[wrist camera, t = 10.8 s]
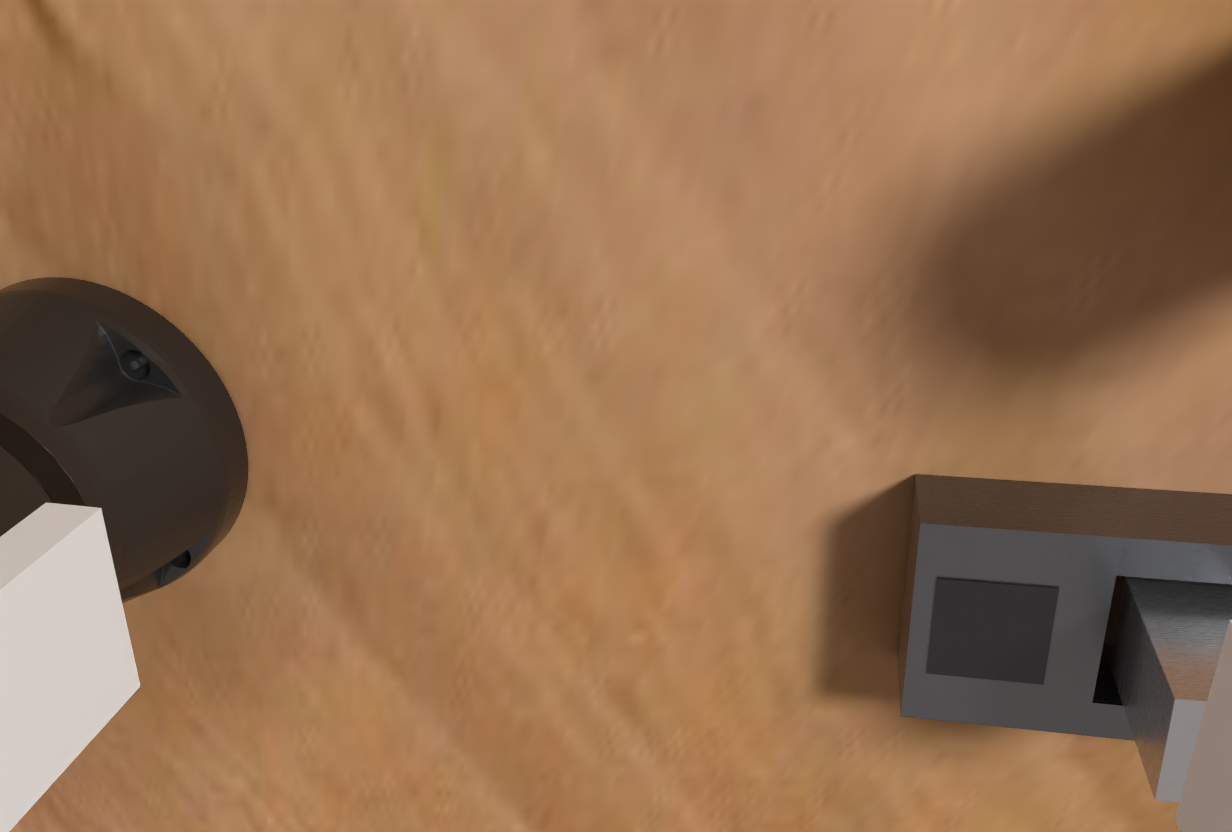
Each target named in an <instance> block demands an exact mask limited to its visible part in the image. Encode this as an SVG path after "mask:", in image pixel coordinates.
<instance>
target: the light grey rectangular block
mask: <svg viewBox="0 0 1232 832" xmlns="http://www.w3.org/2000/svg"><path fill="white" fill-rule="evenodd" d="M1229 620H1232V585H1230V584H1218V583H1205V582H1192V581H1179V580H1166V579H1154V578H1141V577H1128V576H1116V579H1115V585H1114V590H1113V595H1112V601H1111V606H1110V611H1109V617H1108V622H1107V627H1106V633H1105V638H1104V643H1103V648H1104V651H1105V654H1106V657H1107V660H1108V663H1109V665H1110V668H1111V671H1112V674H1113V677H1114V680H1115V683H1116V686H1117V689H1118V692H1119V695H1120V698H1121V701H1122V704H1123V707H1124V710H1125V713H1126V716H1127V719H1128V722H1129V725H1130V728H1131V731H1132V734H1133V736H1134V739H1135V742H1136V745H1137V748H1138V751H1139V754H1140V757H1141V760H1142V763H1143V766H1144V769H1145V772H1146V775H1147V778H1148V781H1149V784H1150V787H1151V790H1152V793H1153V796H1154V799H1155V800H1160V801H1171V802H1179V801H1180V798H1181V794H1182V790H1183V787H1184V783H1185V779H1186V776H1187V772H1188V769H1189V765H1190V761H1191V758H1192V754H1193V750H1194V747H1195V743H1196V740H1197V736H1198V732H1199V729H1200V725H1201V721H1202V718H1203V714H1204V711H1205V707H1206V703H1207V700H1208V696H1209V692H1210V689H1211V685H1212V682H1213V678H1214V674H1215V671H1216V667H1217V664H1218V660H1219V656H1220V653H1221V649H1222V645H1223V642H1224V638H1225V635H1226V631H1227V627H1228V624H1229Z"/></svg>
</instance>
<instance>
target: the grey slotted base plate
mask: <svg viewBox="0 0 1232 832" xmlns="http://www.w3.org/2000/svg"><path fill="white" fill-rule="evenodd" d="M1116 576H1128V577H1141V578H1154V579H1166V580H1179V581H1192V582H1205V583H1218V584H1230V585H1232V495H1230V494H1214V493H1198V492H1183V491H1167V490H1152V489H1136V488H1121V487H1105V486H1090V485H1074V484H1059V483H1043V482H1027V481H1012V480H996V479H981V478H965V477H950V476H934V475H919V474H915V481H914V491H913V502H912V512H911V523H910V533H909V543H908V554H907V564H906V574H905V585H904V595H903V606H902V616H901V626H900V637H899V647H898V674H899V691H900V709H901V716H903V717H913V718H922V719H932V720H942V721H951V722H961V723H971V724H980V725H990V726H1000V727H1009V728H1019V729H1029V730H1038V731H1048V732H1058V733H1067V734H1077V735H1087V736H1096V737H1106V738H1116V739H1125V740H1135V739H1134V736H1133V734H1132V731H1131V728H1130V725H1129V722H1128V719H1127V716H1126V713H1125V710H1124V707H1123V704H1122V701H1121V698H1120V695H1119V692H1118V689H1117V686H1116V683H1115V680H1114V677H1113V674H1112V671H1111V668H1110V665H1109V663H1108V660H1107V657H1106V654H1105V651H1104V648H1103V643H1104V638H1105V633H1106V627H1107V622H1108V617H1109V611H1110V606H1111V601H1112V595H1113V590H1114V585H1115V579H1116Z"/></svg>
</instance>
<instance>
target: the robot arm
mask: <svg viewBox="0 0 1232 832" xmlns="http://www.w3.org/2000/svg"><path fill="white" fill-rule="evenodd" d="M247 480H248V457H247V448H246V442H245V437H244V433H243V429H242V426H241V422H240V419H239V416H238V414H237V411H236V408H235V406H234V404H233V402H232V399H231V397H230V395H229V393H228V391H227V390H226V388H225V386H224V384H223V382H222V381H221V379H220V378H219V376H218V374H217V373H216V371H215V370H214V369H213V367H212V366H211V364H210V363H209V362H208V360H207V359H206V358H205V357H204V355H203V354H202V353H201V352H200V351H199V349H198V348H197V347H196V346H195V345H194V344H193V343H192V342H191V341H190V340H189V339H188V338H187V337H186V336H185V335H184V334H183V333H182V332H181V331H180V330H179V329H178V328H176V327H175V326H174V325H173V324H172V323H170V322H169V321H168V320H167V319H165V318H164V317H163V316H161V315H160V314H158V313H157V312H156V311H154V310H153V309H151V308H150V307H148V306H146V305H145V304H143V303H141V302H140V301H138V300H136V299H134V298H132V297H130V296H128V295H126V294H124V293H121V292H119V291H117V290H114V289H112V288H109V287H106V286H103V285H100V284H96V283H93V282H88V281H84V280H78V279H72V278H37V279H32V280H26V281H23V282H19V283H16V284H13V285H10V286H8V287H5V288H3V289H1V290H0V832H9V831H10V830H11V829H12V828H13V827H14V826H15V825H16V824H17V823H18V821H19V820H20V819H21V818H22V817H23V816H24V815H25V814H26V813H27V811H28V810H29V809H30V808H31V807H32V806H33V805H34V804H35V803H36V801H37V800H38V799H39V798H40V797H41V796H42V795H43V794H44V793H45V791H46V790H47V789H48V788H49V787H50V786H51V785H52V784H53V783H54V782H55V780H56V779H57V778H58V777H59V776H60V775H61V774H62V773H63V772H64V770H65V769H66V768H67V767H68V766H69V765H70V764H71V763H72V762H73V760H74V759H75V758H76V757H77V756H78V755H79V754H80V753H81V752H82V750H83V749H84V748H85V747H86V746H87V745H88V744H89V743H90V742H91V740H92V739H93V738H94V737H95V736H96V735H97V734H98V733H99V732H100V730H101V729H102V728H103V727H104V726H105V725H106V724H107V723H108V722H109V720H110V719H111V718H112V717H113V716H114V715H115V714H116V713H117V712H118V710H119V709H120V708H121V707H122V706H123V705H124V704H125V703H126V702H127V700H128V699H129V698H130V697H131V696H132V695H133V694H134V693H135V692H136V691H137V689H138V688H139V687H140V682H139V677H138V673H137V668H136V664H135V659H134V655H133V650H132V646H131V641H130V636H129V632H128V627H127V623H126V618H125V614H124V609H123V605H122V603H123V602H126V601H128V600H131V599H133V598H136V597H139V596H141V595H144V594H146V593H149V592H151V591H154V590H156V589H159V588H161V587H163V586H166V585H168V584H170V583H172V582H174V581H175V580H177V579H179V578H180V577H182V576H183V575H185V574H186V573H188V572H189V571H190V570H192V569H193V568H194V567H195V566H196V565H198V564H199V563H200V562H201V561H202V560H203V559H204V558H205V557H206V556H207V555H208V554H209V553H210V552H211V551H212V550H213V549H214V548H215V547H216V546H217V545H218V544H219V543H220V542H221V541H222V540H223V539H224V537H225V536H226V535H227V534H228V532H229V531H230V529H231V528H232V526H233V525H234V523H235V521H236V519H237V517H238V515H239V513H240V510H241V508H242V505H243V501H244V498H245V494H246V488H247ZM1175 819H1176V822H1177V825H1178V828H1179V830H1180V832H1232V620H1229V624H1228V627H1227V631H1226V635H1225V638H1224V642H1223V645H1222V649H1221V653H1220V656H1219V660H1218V664H1217V667H1216V671H1215V674H1214V678H1213V682H1212V685H1211V689H1210V692H1209V696H1208V700H1207V703H1206V707H1205V711H1204V714H1203V718H1202V721H1201V725H1200V729H1199V732H1198V736H1197V740H1196V743H1195V747H1194V750H1193V754H1192V758H1191V761H1190V765H1189V769H1188V772H1187V776H1186V779H1185V783H1184V787H1183V790H1182V794H1181V798H1180V801H1179V805H1178V808H1177V812H1176V816H1175Z"/></svg>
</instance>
